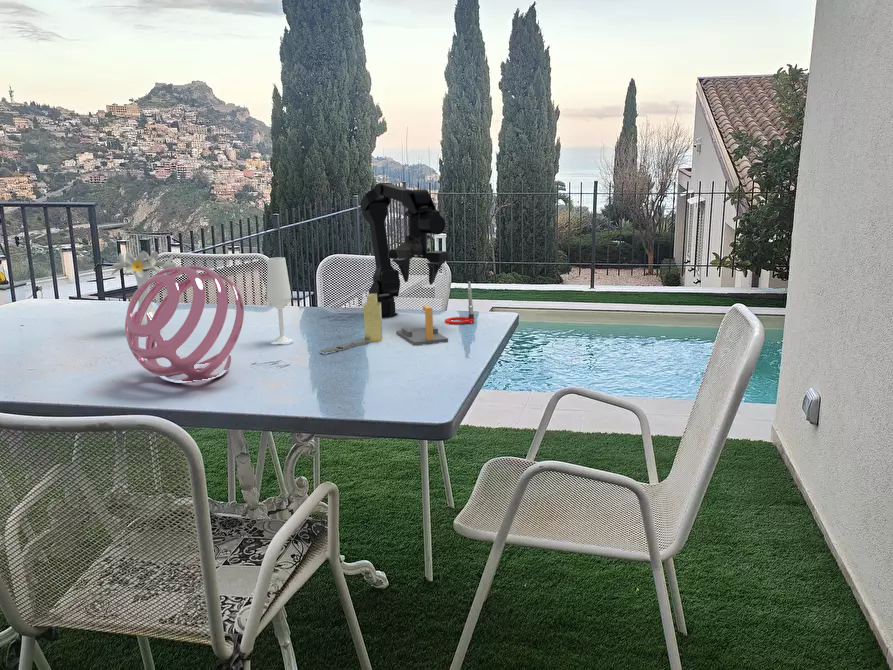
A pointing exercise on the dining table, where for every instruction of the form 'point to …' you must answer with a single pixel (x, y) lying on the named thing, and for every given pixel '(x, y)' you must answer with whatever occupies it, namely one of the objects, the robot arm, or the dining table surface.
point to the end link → (372, 319)
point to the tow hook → (471, 314)
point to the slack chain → (346, 346)
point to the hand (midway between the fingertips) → (418, 283)
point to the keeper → (423, 331)
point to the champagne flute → (278, 290)
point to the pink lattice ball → (165, 314)
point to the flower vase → (142, 272)
